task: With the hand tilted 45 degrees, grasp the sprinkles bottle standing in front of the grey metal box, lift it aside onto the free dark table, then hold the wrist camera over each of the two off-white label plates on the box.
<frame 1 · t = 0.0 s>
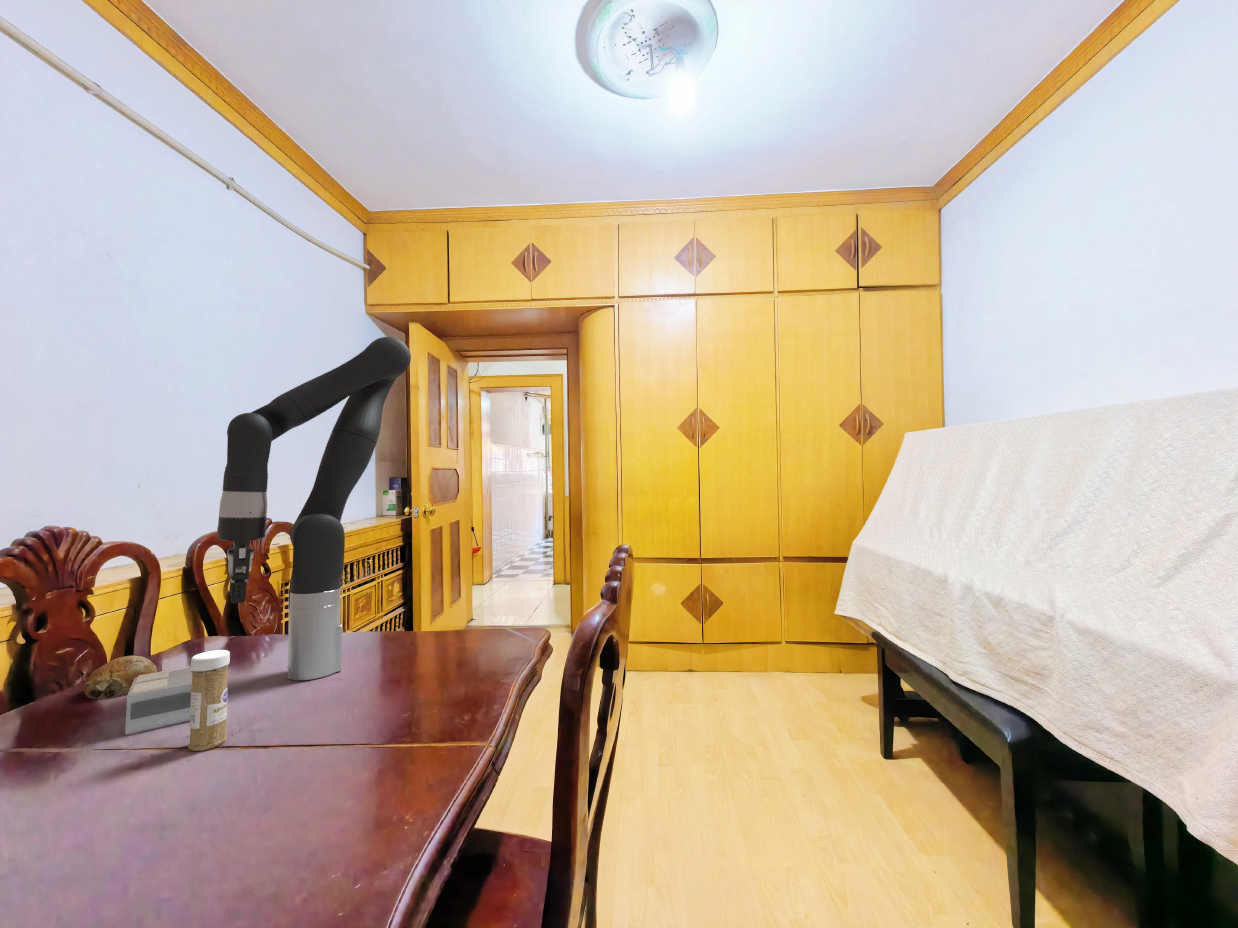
hand: (236, 598, 96), 17 cm above the table, tool pointing down, fingers open, 8 cm apart
bread roll: (121, 691, 96), on the table
sprinkles bottle: (207, 745, 75), on the table
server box: (178, 713, 85), on the table
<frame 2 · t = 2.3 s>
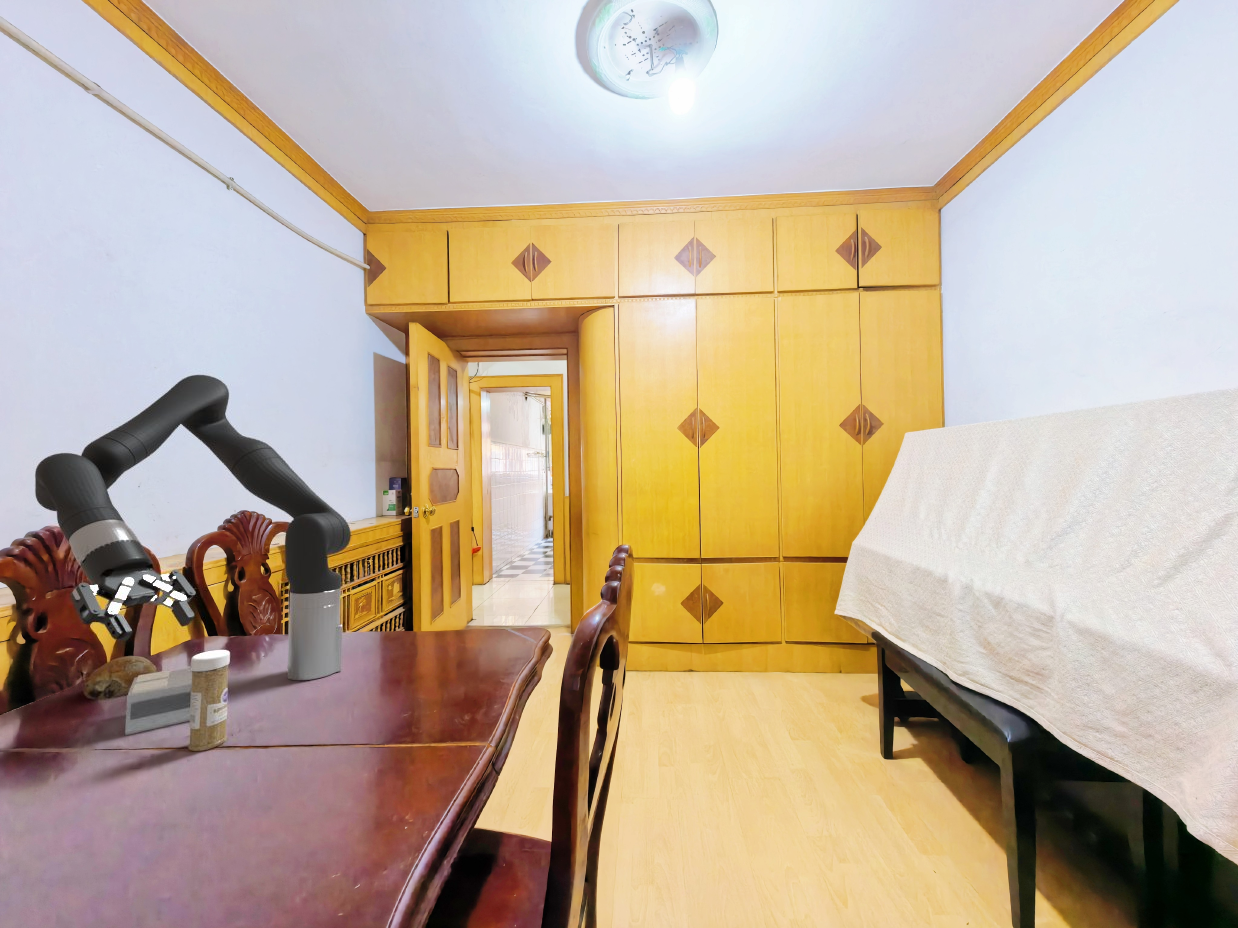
hand: (158, 630, 79), 16 cm above the table, tool tilted 45°, fingers open, 8 cm apart
nothing on the table moved.
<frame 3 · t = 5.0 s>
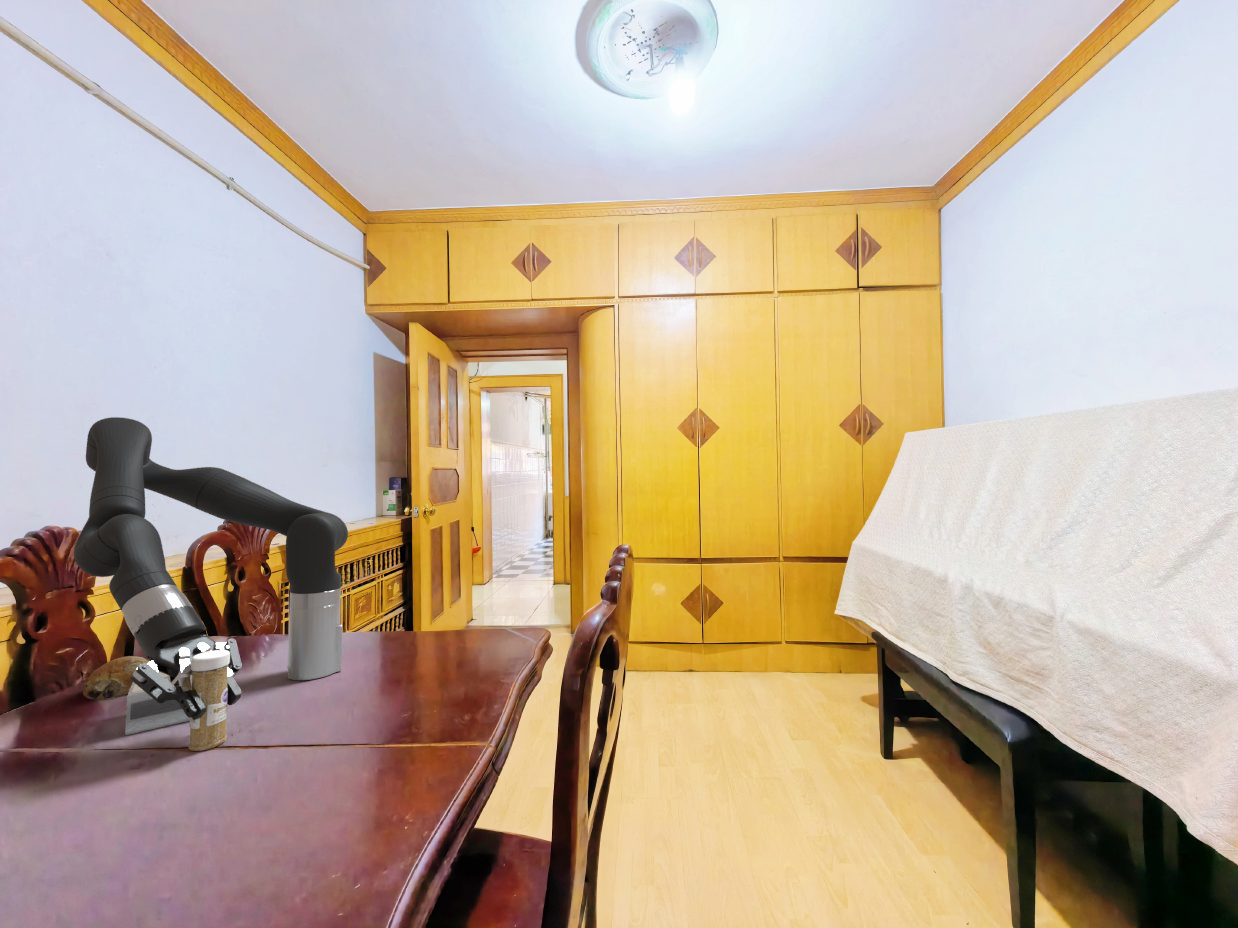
hand: (218, 707, 74), 6 cm above the table, tool tilted 45°, fingers closed on sprinkles bottle, 4 cm apart
sprinkles bottle: (207, 745, 75), on the table, touching gripper
everything else where it was.
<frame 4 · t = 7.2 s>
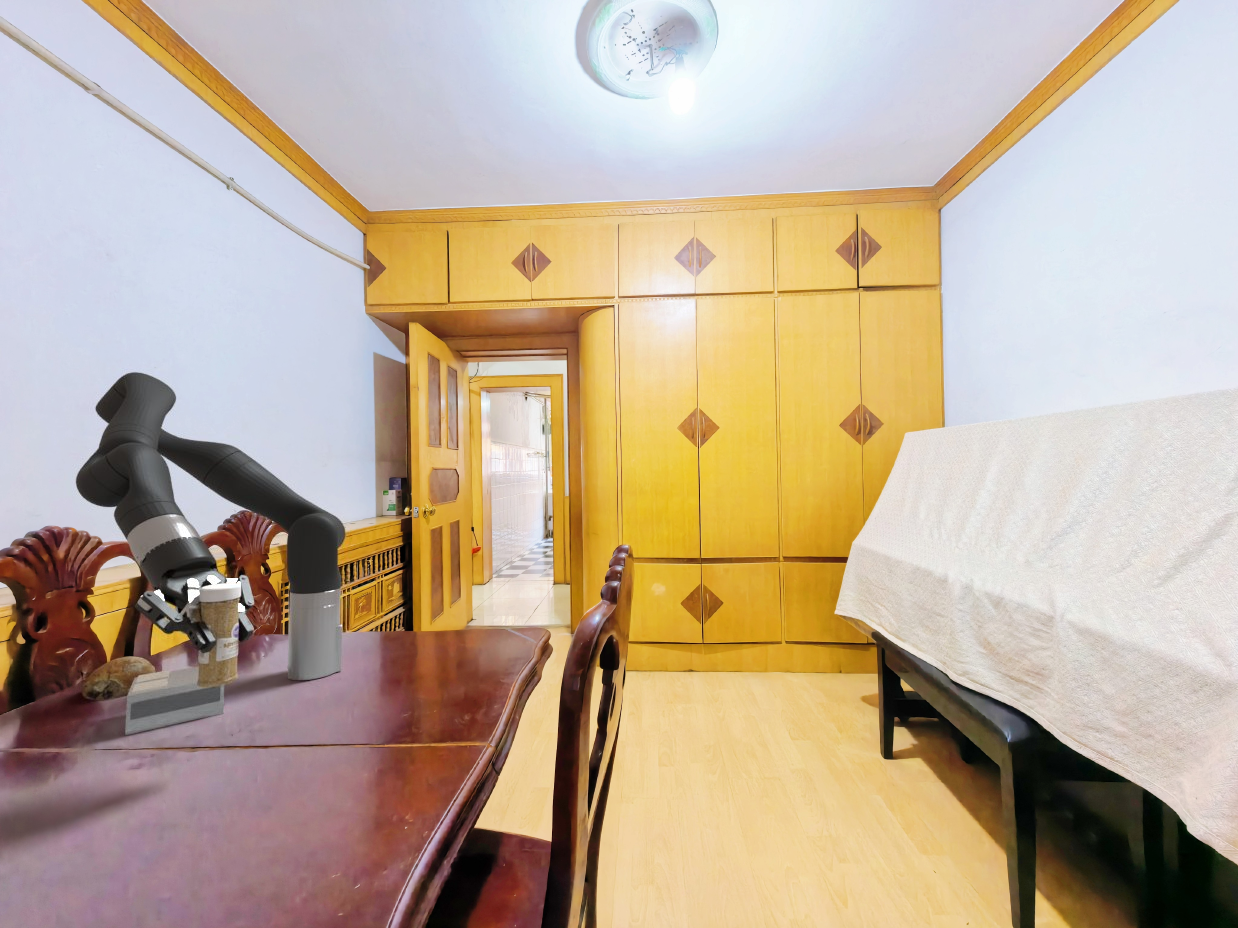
hand: (228, 642, 69), 17 cm above the table, tool tilted 45°, fingers closed on sprinkles bottle, 4 cm apart
sprinkles bottle: (217, 683, 69), point 11 cm above the table, touching gripper
everything else where it was.
when the fingers open (7 cm above the table, at t = 9.5 s): sprinkles bottle drops 1 cm, on the table.
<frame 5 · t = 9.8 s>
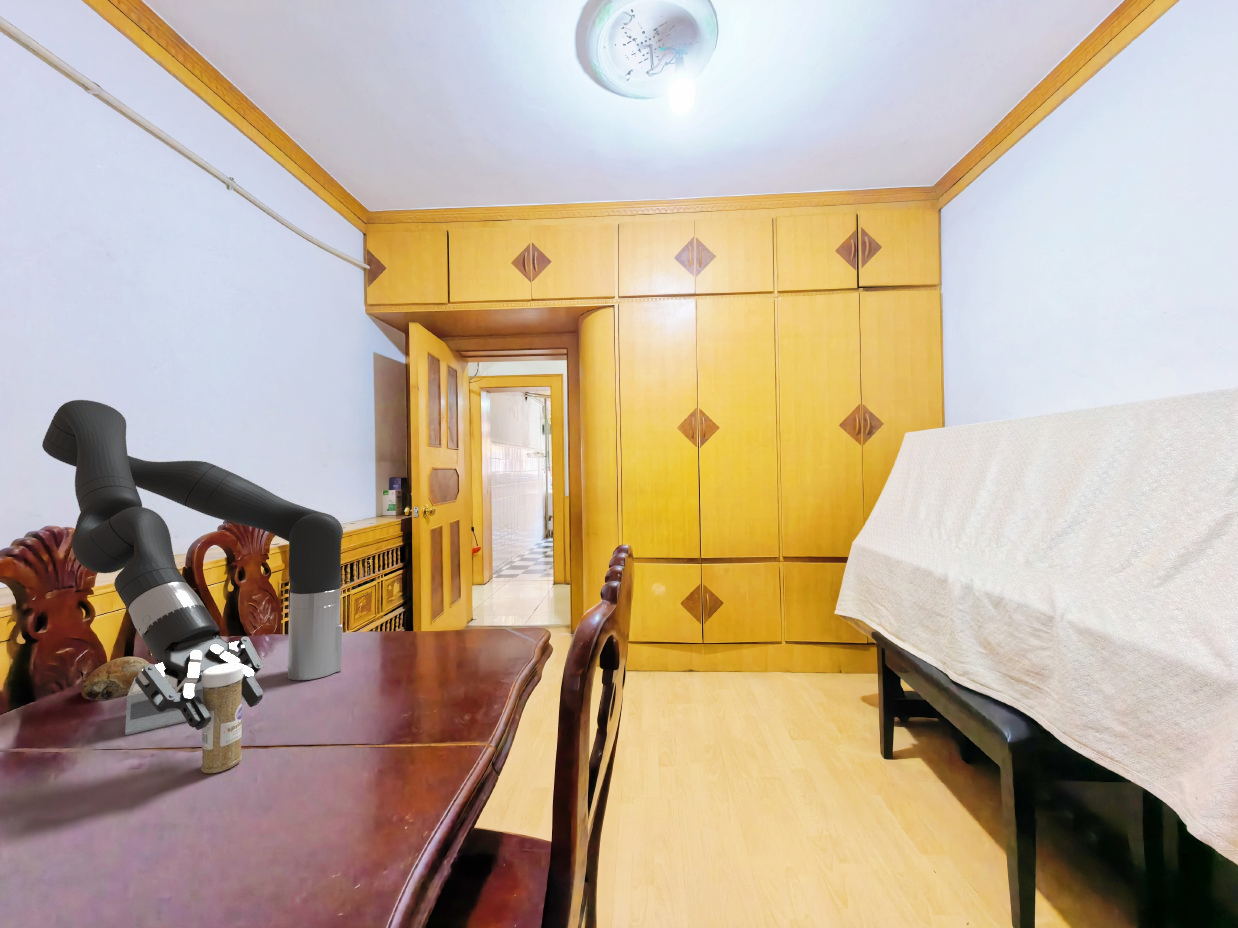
hand: (232, 713, 69), 7 cm above the table, tool tilted 45°, fingers open, 6 cm apart
sprinkles bottle: (221, 766, 69), on the table
everything else where it was.
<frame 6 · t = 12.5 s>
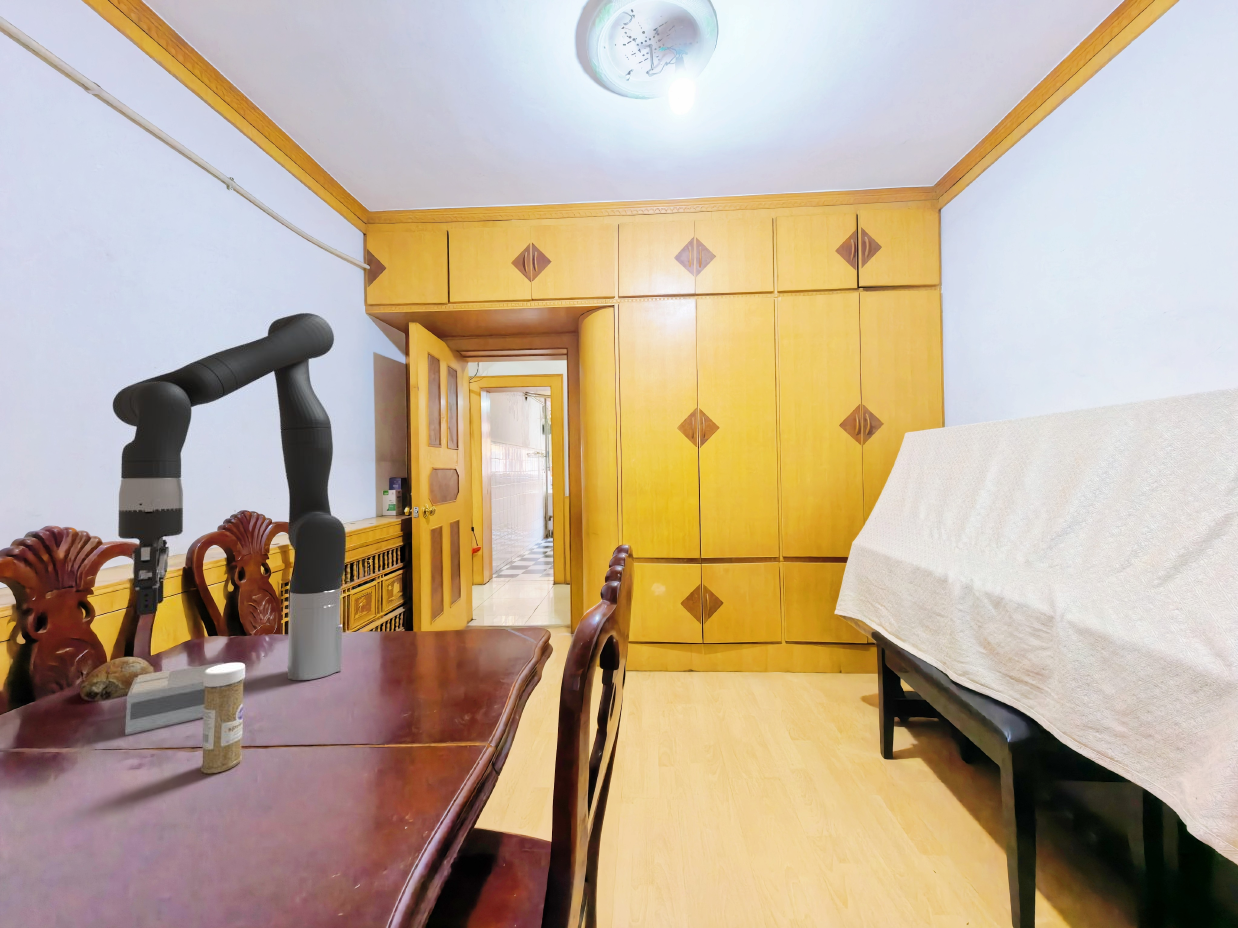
hand: (150, 608, 79), 19 cm above the table, tool pointing down, fingers open, 8 cm apart
nothing on the table moved.
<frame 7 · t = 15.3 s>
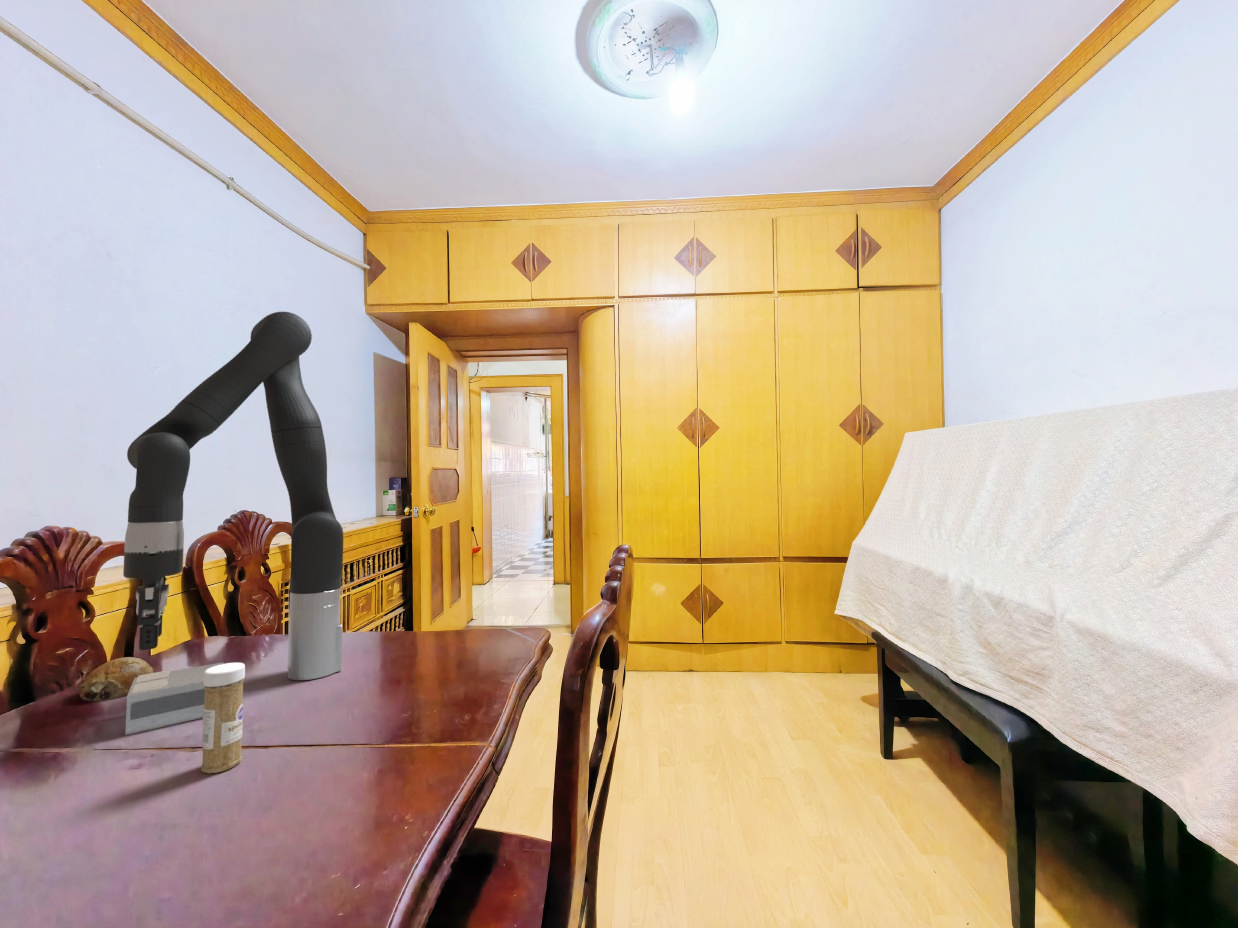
hand: (150, 642, 85), 12 cm above the table, tool pointing down, fingers open, 8 cm apart
nothing on the table moved.
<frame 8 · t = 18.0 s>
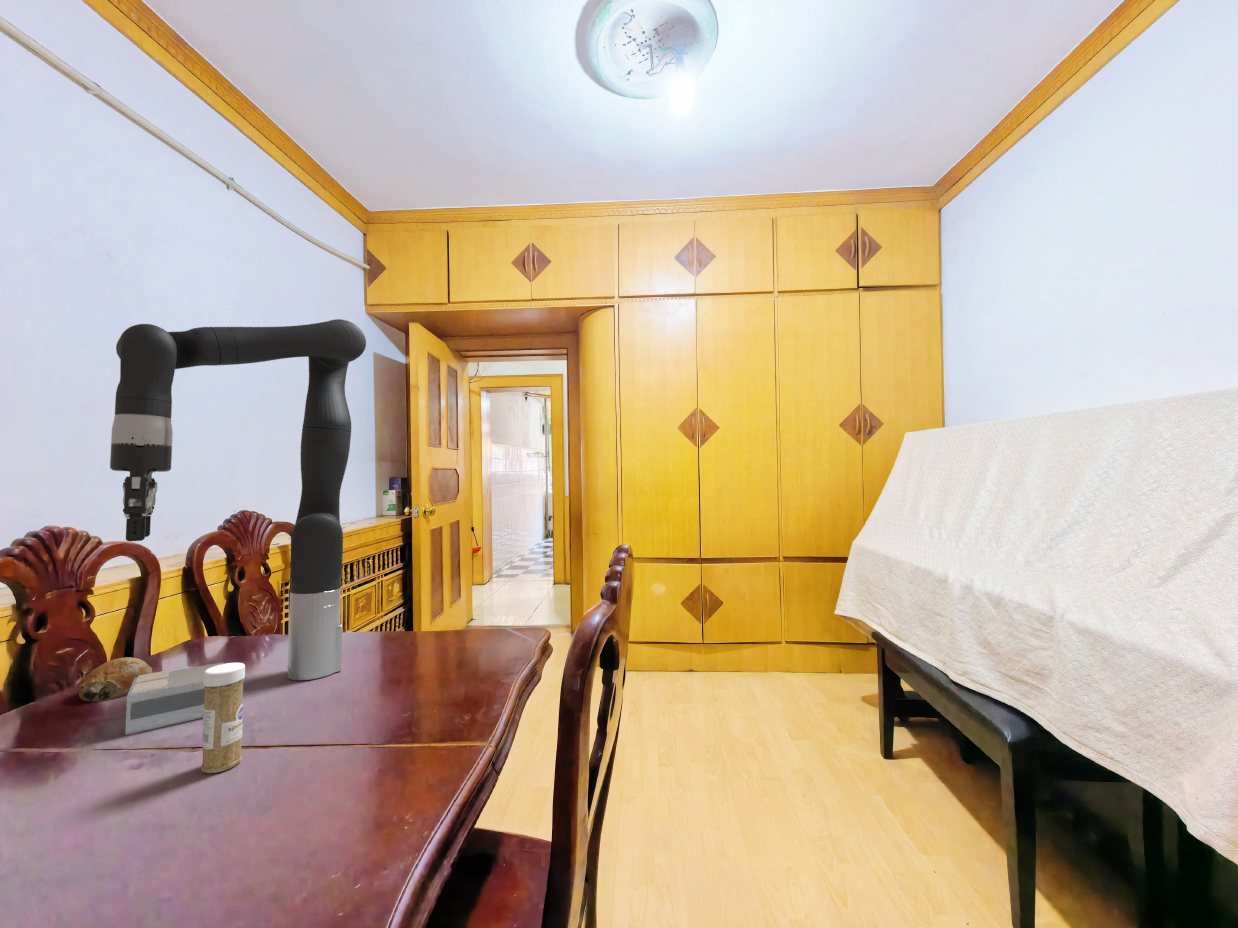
hand: (138, 538, 84), 30 cm above the table, tool pointing down, fingers open, 8 cm apart
nothing on the table moved.
at the end: sprinkles bottle inside the target area (0.7 cm from its centre), on the table; sprinkles bottle tilted 0°; the gripper is holding nothing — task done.
